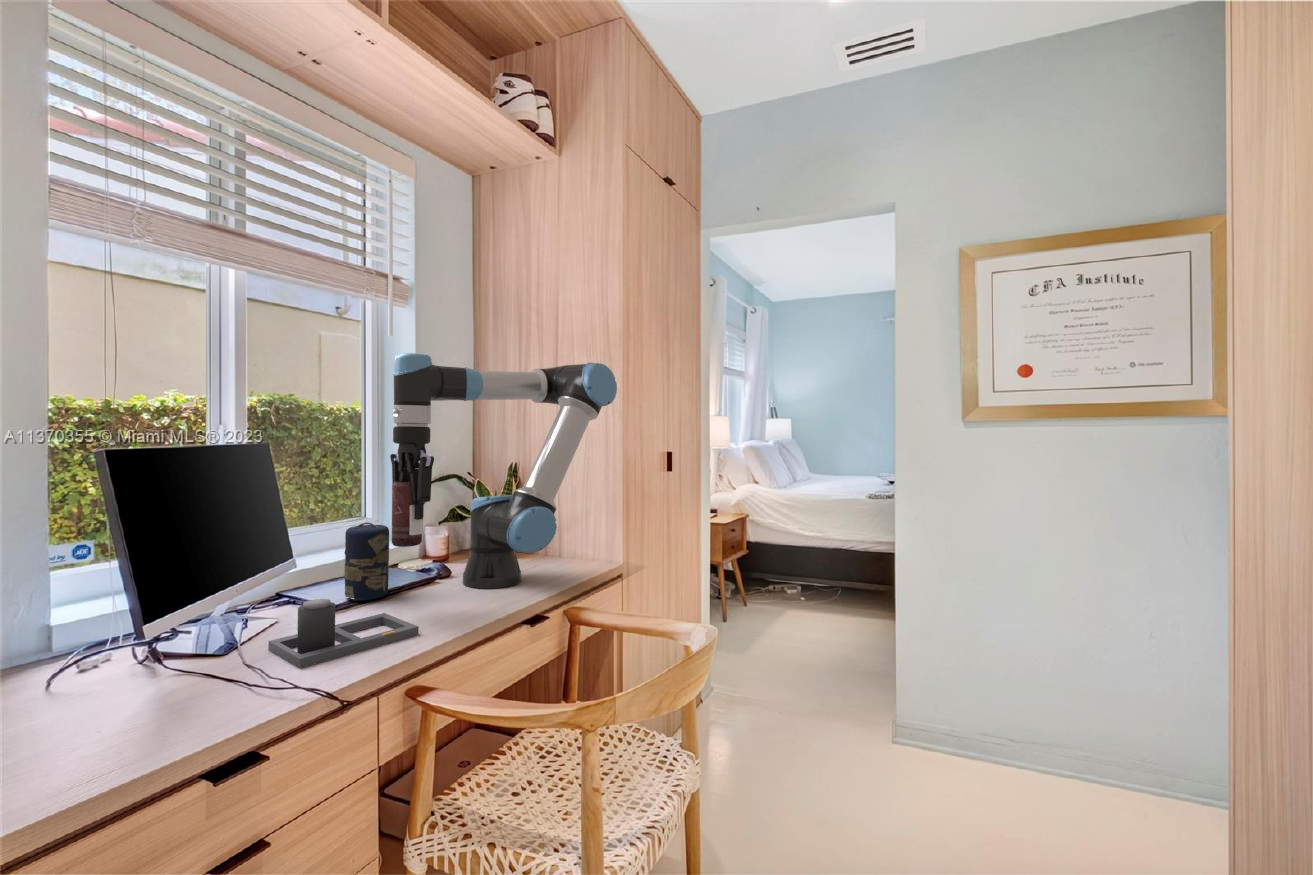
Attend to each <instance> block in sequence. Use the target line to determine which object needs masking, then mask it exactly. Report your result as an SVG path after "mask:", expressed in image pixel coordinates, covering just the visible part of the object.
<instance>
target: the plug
mask: <svg viewBox="0 0 1313 875" xmlns="http://www.w3.org/2000/svg"><path fill="white" fill-rule="evenodd" d="M335 625H336V602H335V603H334V602H332V601H331V599H330V598H315V599H309V600H307V601H304V602H303V603H302V605H301V606H298V607H297V634H298V638H297V646H296V647H297V648H296V652H298V653H299V654H304V653H308V652H312V651H315V650H319V649H323V648H327V647H330V646H334V645H336V640H335Z"/></svg>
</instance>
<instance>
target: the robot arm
mask: <svg viewBox="0 0 1313 875" xmlns="http://www.w3.org/2000/svg"><path fill="white" fill-rule="evenodd" d="M392 376H393V410H392V414H393V423H394V424H396V426H395V425H394V426H393V428H392V442H393V444H398V449H397V453H392V454H390V455H389V458H390V463H391V479H392V482H391V483H392V485H393V483H394V481H397V480H399V482H408V481H410V482H411V493H412V502H410V503H409V504H410V532H409V535H417V534H422V535H423V534H424V511H425V510H424V509H425V508H424V507H425V506H424V505H426V503H427V502H431V497H432V476H433V466H434V461H435V457H434V456H430V455H428V454H427V449H426V445H428V444H430V443H431V428H430V427H429V425H430V424H432V422H431V421H432V413H431V412H432V409H431V408H432V401H434V402H436V401H437V402H439V401H441V402H442V401H463V402H467V401H470V402H471V401H491V400H492V401H493V400H494V401H497V400H498V401H499V400H500V401H503V400H505V401H506V400H509V401H510V400H515V401H516V400H531V401H532V402H533V403H535V404H552V405H558V406H559V410H558V413H557V414H556V417H555V418H554V420H553V423H552V425H551V427H550V430H548V433H547V435H546V437H545V439H544V442H543V443H542V446H541V447H540V450H539V452H538V454H537V457H536V459H535V461H534V463H533V465H532V467H531V469H530V471H529V473H528V476H527V477H526V480H525V482H524V485H523V486H522V487H520V488H517V489H515V490H514V491H513V493H512V494H508V495H507V494H506V495H495V496H494V495H492V496H490V495H489V496H479V497H475V498H473V499H472V501H471V504H470V513H469V514H470V544H469V545H470V548H469V550H470V551H469V555H468V556H469V557H468V559H467V562H466V565H465V568H464V571H463V572H462V584H463V585H464V586H466V587H470V588H475V589H500V588H506V587H512V586H515V585H517V584H519V583H521V581H522V570H521V568H520V564H519V560H518V557H517V555H516V552H518V553H527V554H532V553H537V552H540V551H542V550H544V549H545V548H547V546H548V547H549V545H550V544H551V542H552V541H553V539H554V537H555V535H556V533H557V527H558V525H557V523H556V521H557V518H556V516H555V513H556V511H557V506H556V503H555V499H556V496H557V494H558V492H559V489H560V488H561V485H562V483H563V481H564V479H565V477H566V474H567V472H568V470H569V468H570V465H571V463H572V461H573V458H574V456H575V454H576V452H577V450H578V447H579V446H580V443H581V441H582V439H583V437H584V434H585V432H586V430H587V427H588V425H589V423H590V421H593V420H596V419H597V418H598V417H599V414H600V411H601V410H602V408H603V407H606V406H608V405H611V404H612V403H613V402H614V400H615V398H616V396H617V393H618V392H617V391H618V385H617V383H618V382H617V381H616V377H615V375H614V373H613V371H612V369H610V367H608V366H607V365H606V364H604V363H601V362H599V363H598V362H596V363H595V362H587V363H581V364H566V365H560V366H555V367H547V368H534V369H533V370H531V371H497V370H496V371H492V370H477V369H474V368H468V367H460V366H459V367H458V366H457V367H456V366H445V365H435V364H433V361H432V357H431V356H430V355H429V354H423V353H415V352H414V353H412V352H411V353H410V352H409V353H407V352H404V353H398V354H397V355H396V356H395V357H394V363H393V373H392ZM392 485H391V486H392Z"/></svg>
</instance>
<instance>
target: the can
mask: <svg viewBox="0 0 1313 875" xmlns="http://www.w3.org/2000/svg"><path fill="white" fill-rule="evenodd" d="M410 502H412V493H411V482H410V481H408V482H399V480H397V481H394V483H393V485H391V544H392V545H393V547H398V548H403V547H404V548H406V547H407V548H409V547H417V546H419V545H420V544H421V543H422V542H423V534H417V535H409V532H410V504H409V503H410Z"/></svg>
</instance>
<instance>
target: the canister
mask: <svg viewBox="0 0 1313 875" xmlns="http://www.w3.org/2000/svg"><path fill="white" fill-rule="evenodd" d="M344 538H345V545H344V547H345V548H344V552H343V553H344V596H345V597H346V598H347V597H349V598H354V599H357V600H356V601H370V600H377V599H380V598H382V597H384V596H386V595H387V594H388V591H389V573H390V572H389V569H390V568H389V565H390V564H389V561H390V528H389V527H388V526H387V525H384V524H374V523H372V522H363V523H361V524H357V525H354V526H350V527H349V528H347V529H346V530H345V537H344Z"/></svg>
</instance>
